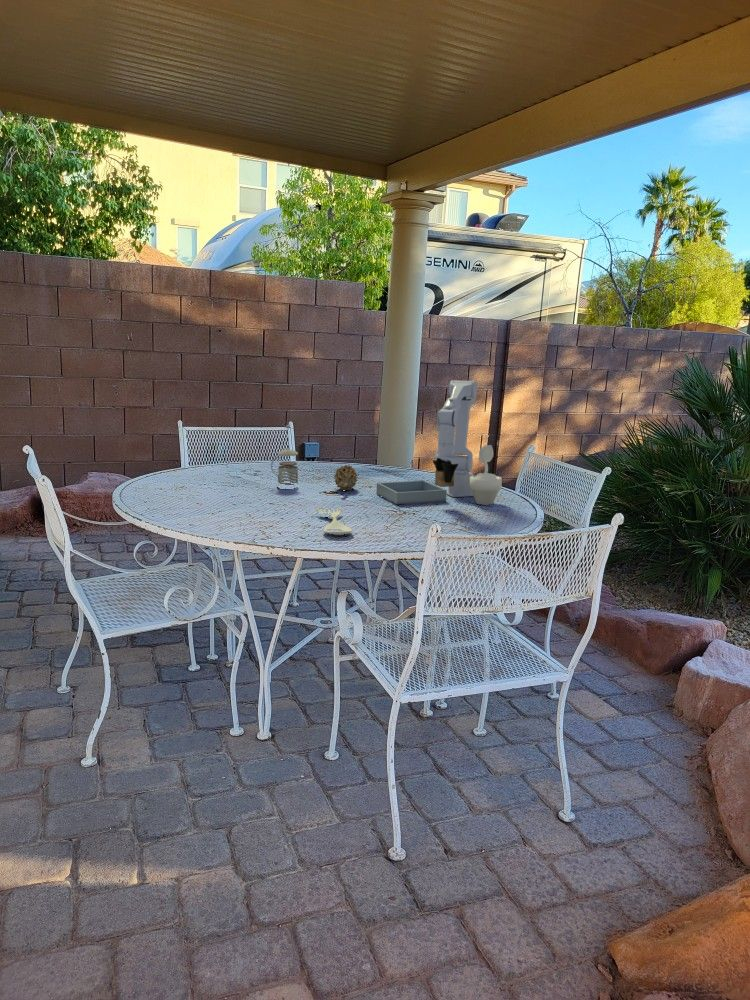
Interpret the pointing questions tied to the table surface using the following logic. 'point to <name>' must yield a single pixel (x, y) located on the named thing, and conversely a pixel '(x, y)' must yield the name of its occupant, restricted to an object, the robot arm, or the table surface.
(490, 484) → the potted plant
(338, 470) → the pine cone
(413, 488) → the slate bin
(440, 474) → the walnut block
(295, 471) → the french press
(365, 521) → the table surface
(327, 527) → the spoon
